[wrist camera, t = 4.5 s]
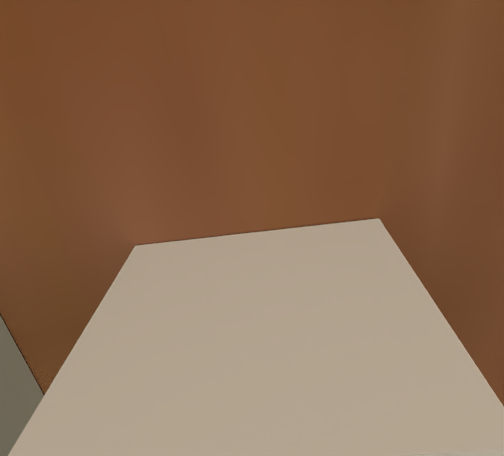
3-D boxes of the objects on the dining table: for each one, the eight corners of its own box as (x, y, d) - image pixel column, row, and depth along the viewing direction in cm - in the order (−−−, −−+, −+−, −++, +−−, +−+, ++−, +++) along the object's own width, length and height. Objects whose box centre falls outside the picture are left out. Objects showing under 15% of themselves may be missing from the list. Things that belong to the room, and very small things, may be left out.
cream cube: (378, 218, 10) (530, 447, 4) (376, 393, 12) (464, 663, 7) (135, 245, 10) (-8, 480, 5) (186, 408, 13) (132, 670, 8)
